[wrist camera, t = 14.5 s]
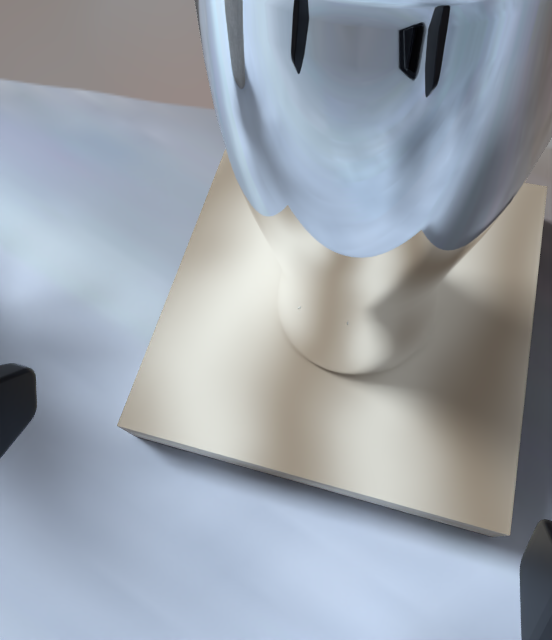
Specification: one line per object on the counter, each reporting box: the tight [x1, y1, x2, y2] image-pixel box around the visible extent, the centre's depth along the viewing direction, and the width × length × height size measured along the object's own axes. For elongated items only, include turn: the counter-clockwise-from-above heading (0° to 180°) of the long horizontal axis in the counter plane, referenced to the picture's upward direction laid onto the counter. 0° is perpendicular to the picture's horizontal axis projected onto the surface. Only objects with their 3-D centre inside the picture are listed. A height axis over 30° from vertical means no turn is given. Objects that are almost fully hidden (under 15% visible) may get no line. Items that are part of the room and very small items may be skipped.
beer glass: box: [195, 0, 552, 375], centre depth 14 cm, size 7×7×15 cm
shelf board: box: [117, 149, 547, 537], centre depth 22 cm, size 14×14×2 cm
